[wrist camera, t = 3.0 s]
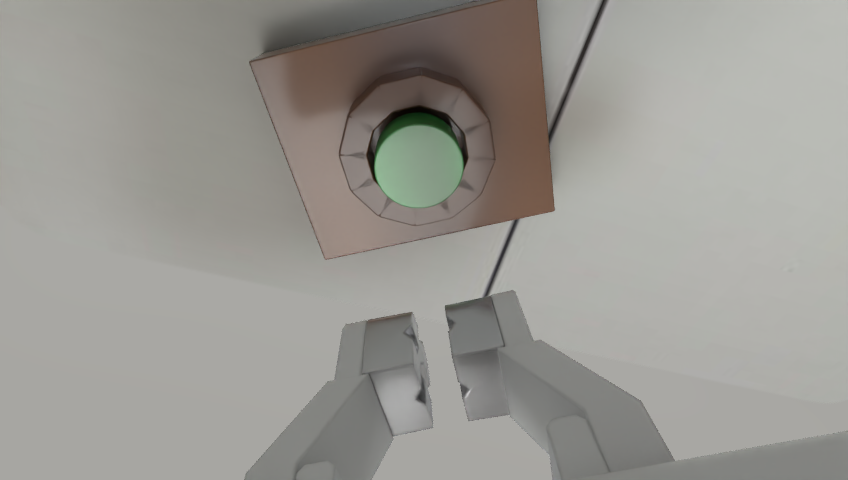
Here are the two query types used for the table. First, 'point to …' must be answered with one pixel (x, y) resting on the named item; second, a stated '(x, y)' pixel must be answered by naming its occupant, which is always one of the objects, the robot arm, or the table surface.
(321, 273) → the table surface
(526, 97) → the switch block
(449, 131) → the lamp button
